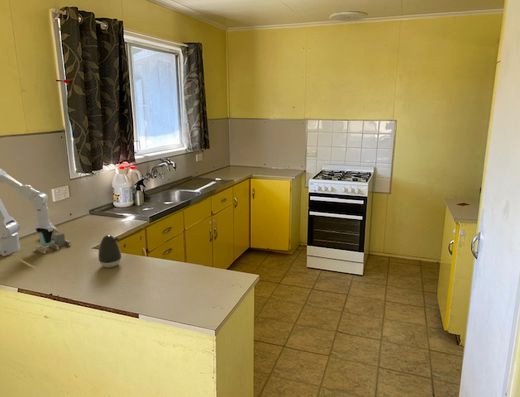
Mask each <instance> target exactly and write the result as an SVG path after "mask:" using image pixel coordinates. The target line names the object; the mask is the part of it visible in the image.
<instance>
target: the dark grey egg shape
mask: <svg viewBox="0 0 520 397" xmlns="http://www.w3.org/2000/svg"><path fill="white" fill-rule="evenodd" d="M118 240H119V237H114V236H112V235H110V234H106V235H104V236H103V237H102V239H101V241H100V243H99V248H98V262H99V263H100V265H101V266H102V267H104V268H115V267H117V266H118V265H119V264H120V263H121V259H122V253H121V249H120V246H119V243H118V242H117V241H118Z"/></svg>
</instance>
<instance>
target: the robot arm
mask: <svg viewBox="0 0 520 397" xmlns="http://www.w3.org/2000/svg"><path fill="white" fill-rule="evenodd" d="M0 183H3V184H5V185H7V186H9V187H12V188H13V189H15V190H17V191H18V194H19V195H21V196H22V197H24V198H25V199H27V200H29V201H30V202H31V204H32V206H34V211H35V218H36V222H35V226H36V227H37V228H35V231H36V232H37V233H38V234H39V232H42V234H43V236H44V238H45V242H46V243H49V242H51V237H52V233H53V231H54V229H53V228H52V227H51V225H53V222H51V221H50V215H49V214H50V213H49V207H48V202H49V200H50V197H49V196H48V194H47V193H46V192H41V191H39V190H36V189H35V188H33V187H32V185H30V184H22V183H21V182H19V181H18V180H17V179H15V178H13V177H12V175H9V174H8V173H7V172H6V170H3V169H2V168H0ZM20 227H21V226H20V224H19V223H18V222H17V221H16V219H15V218H14V217H12V216H10V215H9V213H8V211H7V209H6V207H5V205H4V203H3V201H2V199H1V198H0V255H1V256H2V257H6V256H10V255H13V253H15V252H19V251H20V250H21V245H20V240H19V232H18V231H19V230H20Z"/></svg>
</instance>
